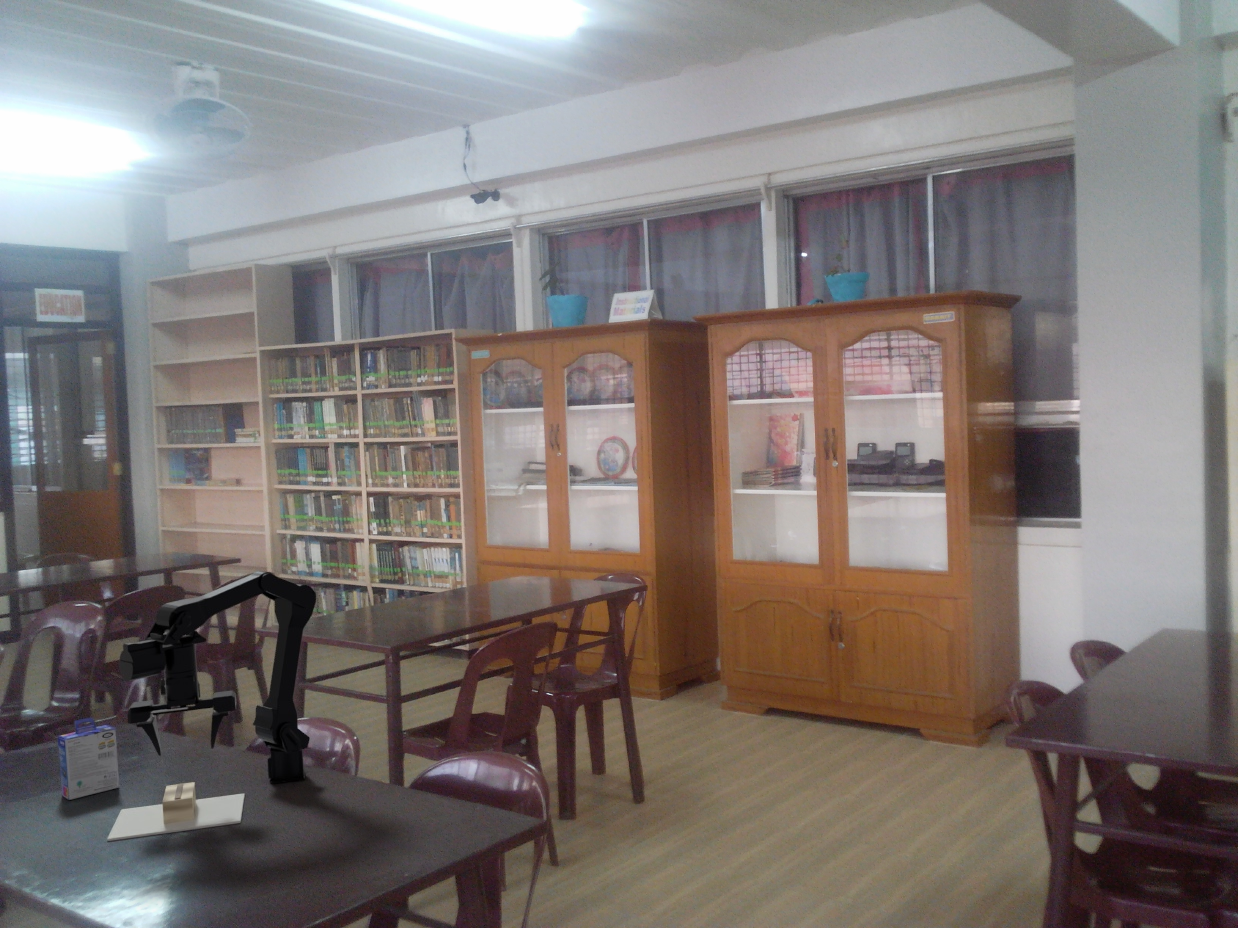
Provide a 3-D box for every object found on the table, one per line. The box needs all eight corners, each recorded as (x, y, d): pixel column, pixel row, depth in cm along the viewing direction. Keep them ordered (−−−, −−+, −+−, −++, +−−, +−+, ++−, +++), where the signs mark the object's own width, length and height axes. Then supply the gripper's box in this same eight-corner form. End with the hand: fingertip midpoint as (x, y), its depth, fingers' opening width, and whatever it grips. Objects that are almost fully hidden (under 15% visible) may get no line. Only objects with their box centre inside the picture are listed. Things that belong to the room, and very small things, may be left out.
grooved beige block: (193, 819, 196) (192, 796, 196) (163, 823, 195) (162, 800, 194) (195, 802, 206) (194, 780, 206) (167, 806, 204) (166, 784, 204)
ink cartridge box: (111, 782, 222) (107, 712, 222) (121, 787, 218) (117, 716, 218) (59, 795, 215) (55, 723, 215) (69, 801, 211) (64, 727, 211)
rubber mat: (244, 795, 210) (244, 793, 210) (240, 822, 195) (240, 820, 195) (121, 811, 204) (121, 809, 204) (107, 840, 188) (107, 838, 188)
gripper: (234, 655, 214) (240, 733, 214) (132, 667, 208) (138, 747, 209) (232, 667, 203) (238, 748, 204) (124, 679, 197) (130, 763, 198)
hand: (186, 751), depth 204 cm, fingers open, 9 cm apart
